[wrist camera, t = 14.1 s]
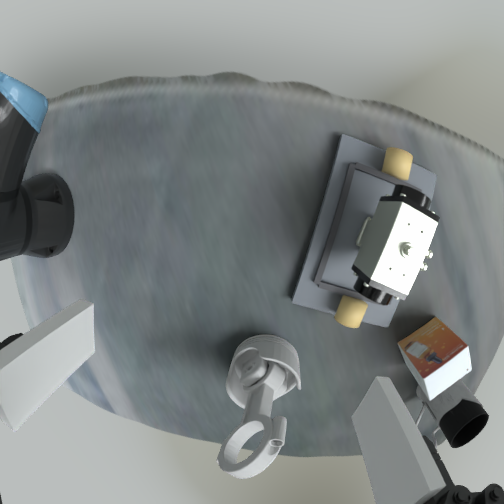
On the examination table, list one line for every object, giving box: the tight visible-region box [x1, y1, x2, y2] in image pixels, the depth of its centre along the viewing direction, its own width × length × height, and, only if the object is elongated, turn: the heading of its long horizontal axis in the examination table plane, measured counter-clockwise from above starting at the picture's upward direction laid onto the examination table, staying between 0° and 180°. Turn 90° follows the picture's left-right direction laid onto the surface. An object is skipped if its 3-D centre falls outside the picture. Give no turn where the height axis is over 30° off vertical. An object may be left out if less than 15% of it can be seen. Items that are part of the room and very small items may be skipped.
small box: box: [398, 317, 472, 401], centre depth 31 cm, size 8×6×10 cm
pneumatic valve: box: [351, 184, 440, 305], centre depth 27 cm, size 6×12×12 cm, turn 159°
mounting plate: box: [291, 134, 437, 328], centre depth 32 cm, size 23×15×5 cm, turn 164°
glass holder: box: [415, 379, 489, 448], centre depth 30 cm, size 9×14×15 cm, turn 136°
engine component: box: [216, 334, 301, 479], centre depth 29 cm, size 11×20×10 cm
